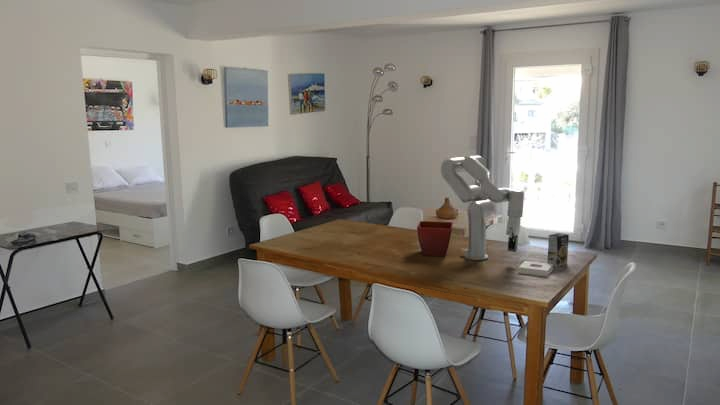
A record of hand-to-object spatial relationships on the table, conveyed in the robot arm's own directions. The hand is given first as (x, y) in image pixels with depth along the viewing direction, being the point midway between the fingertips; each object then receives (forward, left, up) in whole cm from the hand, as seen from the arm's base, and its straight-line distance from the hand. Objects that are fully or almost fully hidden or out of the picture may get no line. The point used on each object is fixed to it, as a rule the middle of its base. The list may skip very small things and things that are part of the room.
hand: (512, 247), depth 293 cm
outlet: (+14, -7, -9) cm, 18 cm away
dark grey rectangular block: (0, 0, -2) cm, 2 cm away
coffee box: (+21, +12, -10) cm, 26 cm away
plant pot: (-45, +4, -10) cm, 46 cm away
